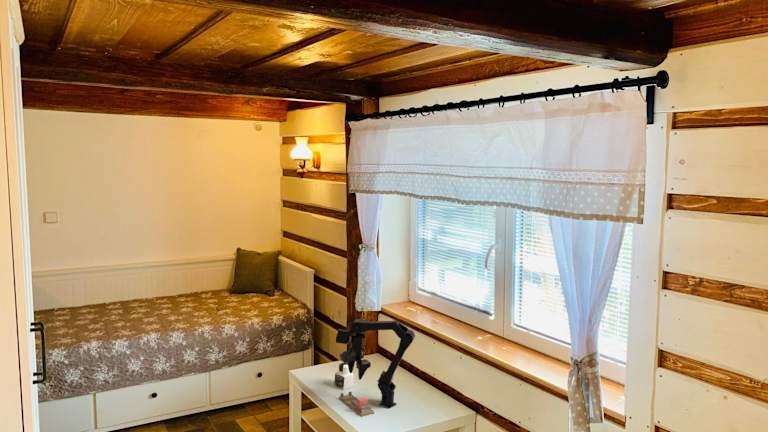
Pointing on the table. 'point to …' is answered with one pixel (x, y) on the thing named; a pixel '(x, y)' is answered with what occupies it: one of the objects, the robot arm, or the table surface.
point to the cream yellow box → (344, 377)
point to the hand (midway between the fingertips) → (355, 376)
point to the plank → (347, 400)
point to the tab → (360, 402)
